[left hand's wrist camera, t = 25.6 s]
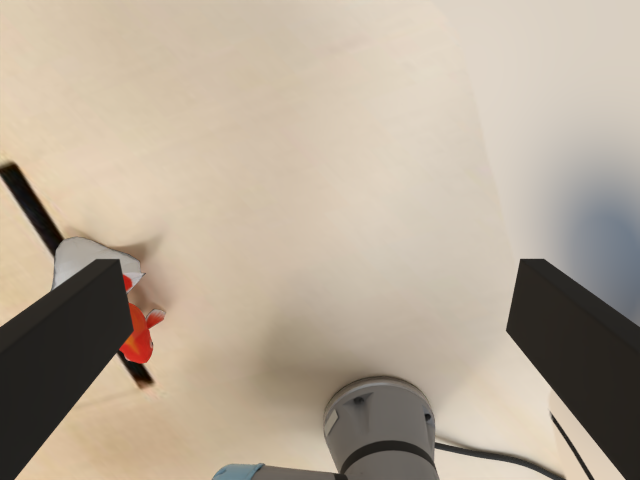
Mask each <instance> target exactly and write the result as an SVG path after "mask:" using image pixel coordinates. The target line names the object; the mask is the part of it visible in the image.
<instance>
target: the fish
mask: <svg viewBox="0 0 640 480" xmlns="http://www.w3.org/2000/svg"><path fill="white" fill-rule="evenodd" d="M95 259H120V263H121V268H122V273H123V278H124V283H125V288H126V293H127V294H128V293H129V291H130V290H131V289H132V288H133V287H134V286H135V285H136V284H137V283H138V282H139V280H140V279H141V278H142V276H143V275H145V274H146V273H141V269H140V261H139V260H137V259H136V258H134V257H132V256H131V255H129V254H126V253H123V252H120V251H116V250H113V249H110V248H107V247H105V246H103V245H101V244H99V243H97V242H94V241H92V240H89V239H85V238H82V237H72V238H68V239H64V240H63V241H62V242H61V243H60V245H59V246H58V248H57V250H56V253H55V258H54V278H53V284H52V289H51V291H52V290H53V289H55V288H56V287H57V286H59V285H60V284H62V283H63V282H64V281H66V280H67V279H69V278H70V277H71V276H73V275H74V274H76V273H77V272H78V271H80V270H81V269H83V268H84V267H86V266H87V265H88V264H90V263H91V262H93V261H94V260H95ZM129 308H130V313H131V318H132V323H133V328H134V331H133V333H132V334H131V335H130V336H129V338H128V339H127V340H126V341H125V343H124V344H123V345H122V346H121V348H120V349H119V350H120V351H122V352H123V353H124V355H125V358H126V359H127V360H129V361H134V362H137V363H146V362H147V361H148V360H149V359H150V357H151V355H152V351H153V342H152V340H151V337H150V332H149V330H148V329H150V328H151V327H153V326H154V325H156V324H158V323H159V322H161V321H162V320H163V319H164V315H165V314H166V313H165V312H164V311H162V310H158V309H153V310H152V311H151V312H150V313H149V314H148V315H147V317H146V318H145V317H144V315H143V313H142V312H141V310H140V309H139V308H137V307H136V306H135V305H133V304H131V303H129Z"/></svg>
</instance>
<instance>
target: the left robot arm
mask: <svg viewBox="0 0 640 480" xmlns="http://www.w3.org/2000/svg"><path fill="white" fill-rule="evenodd" d="M133 331H134V328H133V323H132V318H131V313H130V308H129V303H128V298H127V293H126V288H125V283H124V278H123V273H122V268H121V263H120V259H95V260H94V261H93V262H91V263H90V264H88V265H87V266H86V267H84V268H83V269H81V270H80V271H78V272H77V273H76V274H74V275H73V276H71V277H70V278H69V279H67V280H66V281H64V282H63V283H62V284H60V285H59V286H57V287H56V288H55V289H53V290H52V291H50V292H49V293H48V294H46V295H45V296H43V297H42V298H41V299H39V300H38V301H36V302H35V303H34V304H32V305H31V306H29V307H28V308H27V309H25V310H24V311H22V312H21V313H20V314H18V315H17V316H15V317H14V318H12V319H11V320H10V321H8V322H7V323H5V324H4V325H3V326H1V327H0V480H14V479H15V478H16V477H17V476H18V474H19V473H20V472H21V471H22V469H23V468H24V467H25V466H26V464H27V463H28V462H29V461H30V460H31V458H32V457H33V456H34V455H35V453H36V452H37V451H38V450H39V448H40V447H41V446H42V445H43V443H44V442H45V441H46V440H47V438H48V437H49V436H50V435H51V433H52V432H53V431H54V430H55V428H56V427H57V426H58V425H59V423H60V422H61V421H62V420H63V418H64V417H65V416H66V415H67V414H68V412H69V411H70V410H71V409H72V407H73V406H74V405H75V404H76V402H77V401H78V400H79V399H80V397H81V396H82V395H83V394H84V392H85V391H86V390H87V389H88V387H89V386H90V385H91V384H92V382H93V381H94V380H95V379H96V377H97V376H98V375H99V374H100V372H101V371H102V370H103V369H104V367H105V366H106V365H107V364H108V363H109V361H110V360H111V359H112V358H113V356H114V355H115V354H116V353H117V351H118V350H119V349H120V348H121V346H122V345H123V344H124V343H125V341H126V340H127V339H128V338H129V336H130V335H131V334H132V333H133ZM506 331H507V333H508V334H509V335H510V336H511V338H512V339H513V340H514V341H515V343H516V344H517V345H518V346H519V348H520V349H521V350H522V351H523V353H524V354H525V355H526V356H527V358H528V359H529V360H530V361H531V363H532V364H533V365H534V366H535V367H536V369H537V370H538V371H539V372H540V374H541V375H542V376H543V377H544V379H545V380H546V381H547V382H548V384H549V385H550V386H551V387H552V389H553V390H554V391H555V392H556V394H557V395H558V396H559V397H560V399H561V400H562V401H563V402H564V404H565V405H566V406H567V407H568V409H569V410H570V411H571V412H572V414H573V415H574V416H575V417H576V418H577V420H578V421H579V422H580V423H581V425H582V426H583V427H584V428H585V430H586V431H587V432H588V433H589V435H590V436H591V437H592V438H593V440H594V441H595V442H596V443H597V445H598V446H599V447H600V448H601V450H602V451H603V452H604V453H605V455H606V456H607V457H608V458H609V460H610V461H611V462H612V463H613V464H614V466H615V467H616V468H617V469H618V471H619V472H620V473H621V474H622V476H623V477H624V478H625V479H626V480H640V327H639V326H637V325H636V324H634V323H633V322H632V321H630V320H629V319H627V318H626V317H625V316H623V315H622V314H620V313H619V312H618V311H616V310H615V309H613V308H612V307H611V306H609V305H608V304H606V303H605V302H604V301H602V300H601V299H599V298H598V297H597V296H595V295H594V294H592V293H591V292H590V291H588V290H587V289H585V288H584V287H583V286H581V285H580V284H578V283H577V282H576V281H574V280H573V279H571V278H570V277H569V276H567V275H566V274H564V273H563V272H562V271H560V270H559V269H557V268H556V267H554V266H553V265H552V264H550V263H549V262H547V261H546V260H545V259H520V263H519V268H518V273H517V278H516V283H515V288H514V293H513V298H512V303H511V308H510V313H509V318H508V323H507V328H506ZM550 415H551V420H552V421H553V423H554V424H555V425H556V427H557V428H558V430H559V431H560V433H561V434H562V436H563V437H564V439H565V441H566V442H567V444H568V445H569V447H570V448H571V450H572V452H573V453H574V455H575V456H576V458H577V460H578V462H579V463H580V465H581V467H582V468H583V470H584V472H585V474H586V475H587V477H588V479H589V480H595V479H594V478H593V476H592V474H591V473H590V471H589V470H588V468H587V466H586V465H585V463H584V461H583V460H582V458H581V456H580V455H579V453H578V451H577V450H576V448H575V447H574V445H573V444H572V442H571V441H570V439H569V437H568V436H567V435H566V433H565V431H564V430H563V429H562V427H561V426H560V424H559V423H558V421H557V420H556V418H555V417H554V416H553V414H552V413H551V411H550ZM324 435H325V439H326V443H327V446H328V448H329V450H330V453H331V455H332V458H333V460H334V463H335V465H336V468H337V470H338V473H339V474H336V473H330V472H320V471H310V470H301V469H291V468H282V467H274V466H266V465H265V464H263V463H259V464H257V465H249V464H229V465H226V466H224V467H223V468H221V469H220V470H219V471H218V472H217V473H216V474H215V476H214V477H213V478H212V480H439V476H438V474H437V471H436V467H435V464H434V448H436V449H441V450H445V451H450V452H454V453H459V454H464V455H469V456H474V457H480V458H486V459H493V460H499V461H505V462H510V463H515V464H518V465H522V466H525V467H528V468H530V469H533V470H535V471H537V472H540V473H542V474H543V475H545V476H547V477H549V478H551V479H553V480H566V479H563V478H561V477H559V476H557V475H554V474H552V473H550V472H549V471H547V470H545V469H543V468H541V467H539V466H537V465H534V464H532V463H530V462H527V461H524V460H521V459H517V458H514V457H509V456H504V455H498V454H491V453H485V452H478V451H473V450H468V449H463V448H458V447H454V446H449V445H445V444H440V443H436V442H435V420H434V416H433V413H432V410H431V407H430V404H429V402H428V400H427V399H426V397H425V396H424V394H423V393H422V392H421V391H420V390H419V389H417V388H416V387H415V386H413V385H411V384H409V383H407V382H405V381H403V380H399V379H396V378H390V377H371V378H365V379H362V380H358V381H356V382H353V383H351V384H349V385H347V386H345V387H344V388H342V389H341V390H340V391H339V392H337V393H336V394H335V395H334V396H333V398H332V399H331V400H330V402H329V404H328V405H327V408H326V410H325V414H324Z"/></svg>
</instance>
